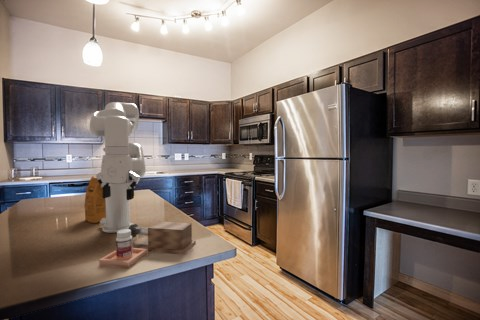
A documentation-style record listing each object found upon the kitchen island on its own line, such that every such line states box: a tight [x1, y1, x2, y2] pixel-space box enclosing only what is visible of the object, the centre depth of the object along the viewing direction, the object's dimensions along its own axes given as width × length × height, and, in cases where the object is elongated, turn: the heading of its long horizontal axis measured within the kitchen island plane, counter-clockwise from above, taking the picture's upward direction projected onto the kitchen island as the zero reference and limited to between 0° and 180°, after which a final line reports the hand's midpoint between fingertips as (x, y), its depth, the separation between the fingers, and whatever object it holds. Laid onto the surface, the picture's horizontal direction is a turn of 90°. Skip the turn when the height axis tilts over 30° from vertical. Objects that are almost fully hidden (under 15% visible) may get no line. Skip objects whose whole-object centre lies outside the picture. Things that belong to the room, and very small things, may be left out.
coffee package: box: [84, 175, 106, 224], centre depth 121 cm, size 10×12×22 cm
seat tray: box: [98, 248, 149, 269], centre depth 76 cm, size 10×10×2 cm
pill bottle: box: [115, 229, 134, 260], centre depth 76 cm, size 5×5×8 cm
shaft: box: [129, 223, 148, 239], centre depth 88 cm, size 13×5×5 cm, turn 78°
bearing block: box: [133, 221, 197, 255], centre depth 87 cm, size 22×10×8 cm, turn 78°
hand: (118, 198), depth 87 cm, fingers open, 9 cm apart
